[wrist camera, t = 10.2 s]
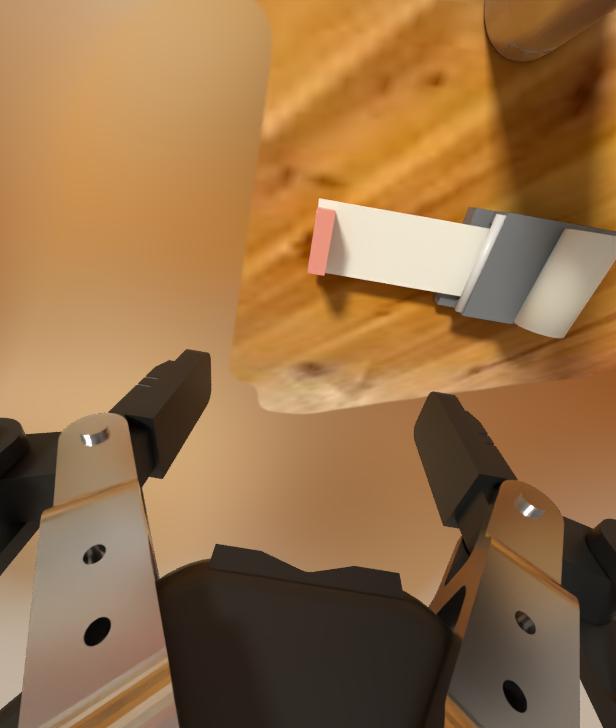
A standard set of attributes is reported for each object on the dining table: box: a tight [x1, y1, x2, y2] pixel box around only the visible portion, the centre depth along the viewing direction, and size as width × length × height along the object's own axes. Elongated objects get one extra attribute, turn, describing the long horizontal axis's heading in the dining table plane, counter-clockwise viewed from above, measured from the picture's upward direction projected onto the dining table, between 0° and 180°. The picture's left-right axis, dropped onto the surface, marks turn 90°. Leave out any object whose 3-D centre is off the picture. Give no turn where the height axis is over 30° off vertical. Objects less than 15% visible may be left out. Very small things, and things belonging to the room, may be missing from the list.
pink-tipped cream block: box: [308, 198, 490, 296], centre depth 31 cm, size 8×20×6 cm, turn 81°
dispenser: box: [433, 207, 616, 338], centre depth 32 cm, size 11×14×9 cm
